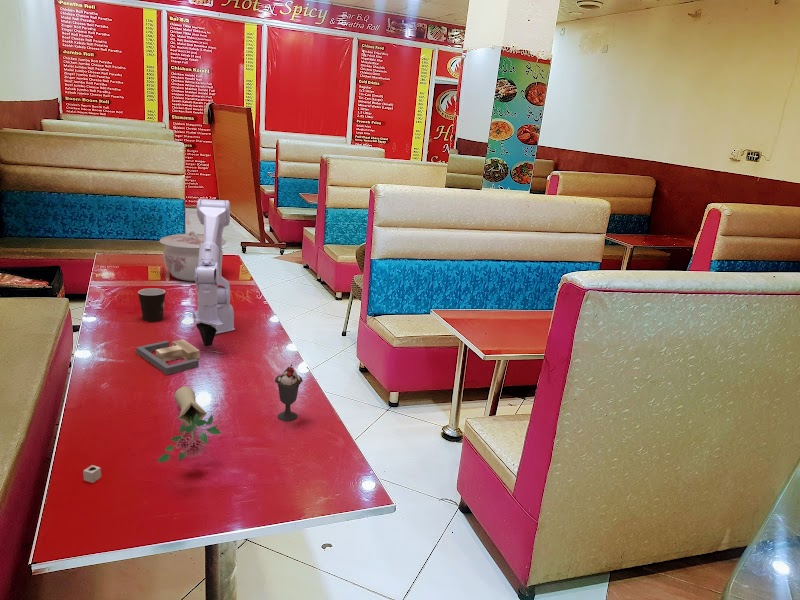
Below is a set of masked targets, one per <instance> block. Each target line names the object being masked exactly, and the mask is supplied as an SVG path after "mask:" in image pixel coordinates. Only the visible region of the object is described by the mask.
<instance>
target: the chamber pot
mask: <svg viewBox="0 0 800 600" xmlns="http://www.w3.org/2000/svg"><path fill="white" fill-rule="evenodd" d="M159 243H160V244H162V245H164V246H165V247H164V249H163V252H162V255H163V261H164V264H165V267H166V268H167V270H168V271H169V273H170V274H171V276H172V277H173V278H174V279H177V280H179V281H185V282H195V268H196V267H198V258H199V248H200V245H201V244H203V243H204V233H203V234H201V233H196V232H195V231H190V232H188V233H177V234H173V235H172V234H171V235H167V236H163V237H161V238H160V239H159ZM226 243H227V240H226V239H225V238H223V237H222V246H224V245H225V244H226ZM223 253H224V252H223V250H222V260H224V259H223V257H224V256H223V255H224V254H223Z"/></svg>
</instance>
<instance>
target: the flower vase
mask: <svg viewBox="0 0 800 600" xmlns="http://www.w3.org/2000/svg"><path fill="white" fill-rule="evenodd" d="M174 401H175V402H176V404H177V405H178V406H179V408H180V414H179V415H178V416H177V420H180V421H181V422H182V423H181V425H180V427H179V429H178V434H180V433H181V434H180V435H176V436H173V437H171V438H170V439H169V440H170V441H172V442H174V443H175V445H172V444H169V445H168V446H167V447H166V448H165V450H164V451H165V452H170V454H168V453H164V454H163V455H161V456H160V457H158V459H157V460H156V462H157V463H165V462H168V461H170V458H171V454H172V452H173V451H174V449H175V448H176V449H180V452H179V454H178V461H180V460H184V459H185V458H186V457H190V458H196V457H198V456H199V455H201V454H203V452H204V451H206V449H205V448H206V445H208V439H209V438H208V435H207V433H206V432H208V433H209V434H211V435H220V434H222V432H221V431H220V429H218V426H219V424H216V425H213V426H211V427H209V428H208V427H206V426H208V425H212V423H213V421H214V417H213V414H211V415H210V416H209V417H208V418H207V421H206V420H205V419H204V418H205V417H206V416H207V414H208V412H206V411H205V410H204V409H203V407H201V406H200V405H199V404H198V403H197V402H196V392H195V391H194V389H193V388H192V387H189V386H181V387H180V388H178V389H177V390H176V392H174ZM183 423H184V424H185V425H184V424H183ZM202 427H204V428H202ZM202 430H204V431H205V430H206V432H202ZM194 431H201V434H199V435H198V437H199V438H198V439H197V438H196V437H194ZM186 433H187V434H189V435H188V436H184V435H185V434H186ZM190 436H191V437H190Z"/></svg>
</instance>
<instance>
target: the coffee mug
mask: <svg viewBox="0 0 800 600" xmlns="http://www.w3.org/2000/svg"><path fill="white" fill-rule="evenodd" d="M137 294H138V299H139V305H140V309H141V314H142V315H141V316H142V320H144V321H143V322H145V321H148V322H147V323H157V321H159V322H161V321H162V319H163V320H164V311H165V299H166V290H165V289H163V288H156V287H155V288H153V287H151V288H143V289H140V290H138V291H137Z"/></svg>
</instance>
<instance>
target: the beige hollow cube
mask: <svg viewBox="0 0 800 600" xmlns="http://www.w3.org/2000/svg"><path fill="white" fill-rule="evenodd" d="M82 471H83V473H82V474H83V481H85V482H88V483H92V484H94V483H95V482H96V481H99V480H100V478H102V469H101V467H99V466H96V465H93V464H91V465H90V466H88V467H87V468H85V469H84V470H82Z"/></svg>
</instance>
